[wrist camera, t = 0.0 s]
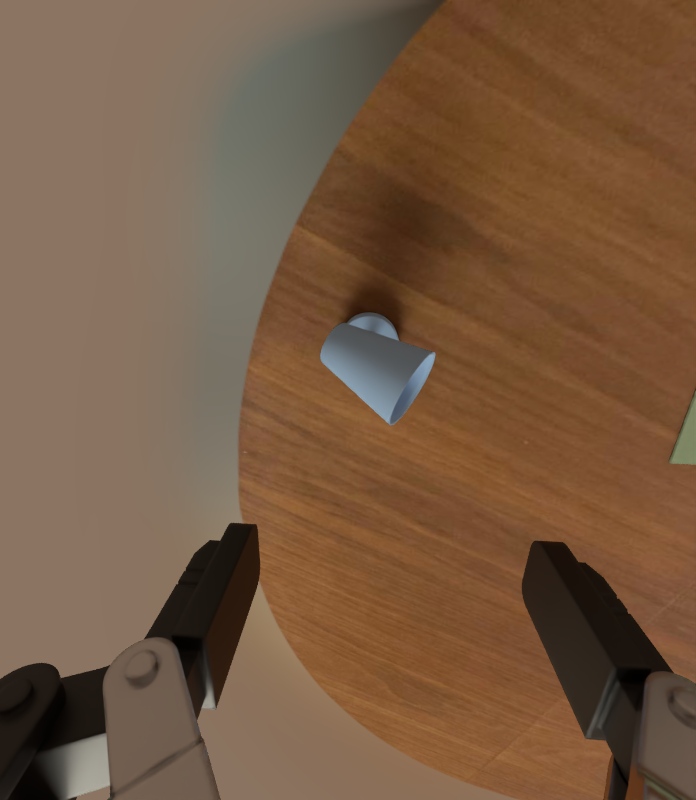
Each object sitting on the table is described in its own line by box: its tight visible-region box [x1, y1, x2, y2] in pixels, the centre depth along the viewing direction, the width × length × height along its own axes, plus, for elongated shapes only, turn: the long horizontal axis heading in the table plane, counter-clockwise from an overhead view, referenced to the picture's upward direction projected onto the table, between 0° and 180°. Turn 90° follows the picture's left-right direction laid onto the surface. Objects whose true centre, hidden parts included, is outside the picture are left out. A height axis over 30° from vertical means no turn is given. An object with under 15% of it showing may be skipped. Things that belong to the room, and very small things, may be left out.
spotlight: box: [320, 312, 435, 425], centre depth 25 cm, size 5×10×7 cm
